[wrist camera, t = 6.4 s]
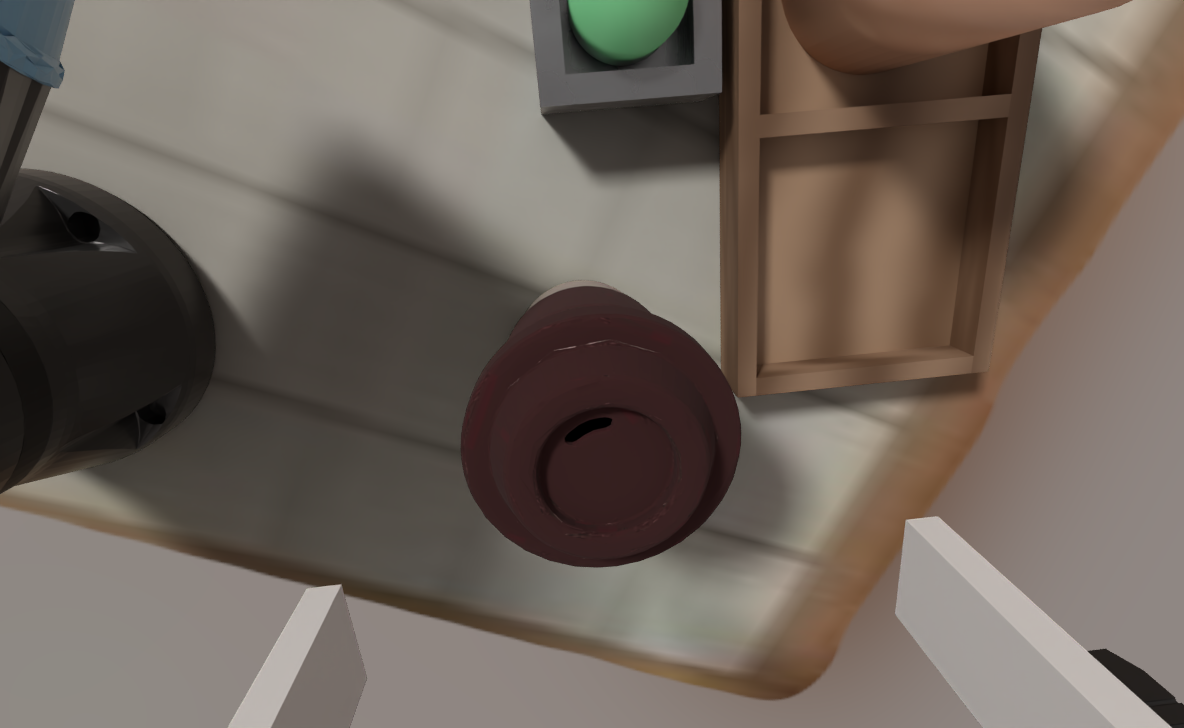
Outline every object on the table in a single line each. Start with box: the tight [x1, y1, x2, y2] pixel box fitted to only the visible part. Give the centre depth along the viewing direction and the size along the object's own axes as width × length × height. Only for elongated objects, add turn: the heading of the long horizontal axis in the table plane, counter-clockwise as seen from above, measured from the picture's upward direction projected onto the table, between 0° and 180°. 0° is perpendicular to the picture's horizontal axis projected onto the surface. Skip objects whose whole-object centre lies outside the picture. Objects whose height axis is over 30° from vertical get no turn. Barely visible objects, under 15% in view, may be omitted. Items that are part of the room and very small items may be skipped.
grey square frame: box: [530, 0, 722, 115], centre depth 26 cm, size 8×8×4 cm
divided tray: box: [719, 0, 1042, 397], centre depth 29 cm, size 14×27×3 cm, turn 5°
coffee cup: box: [461, 280, 741, 567], centre depth 26 cm, size 10×10×15 cm
